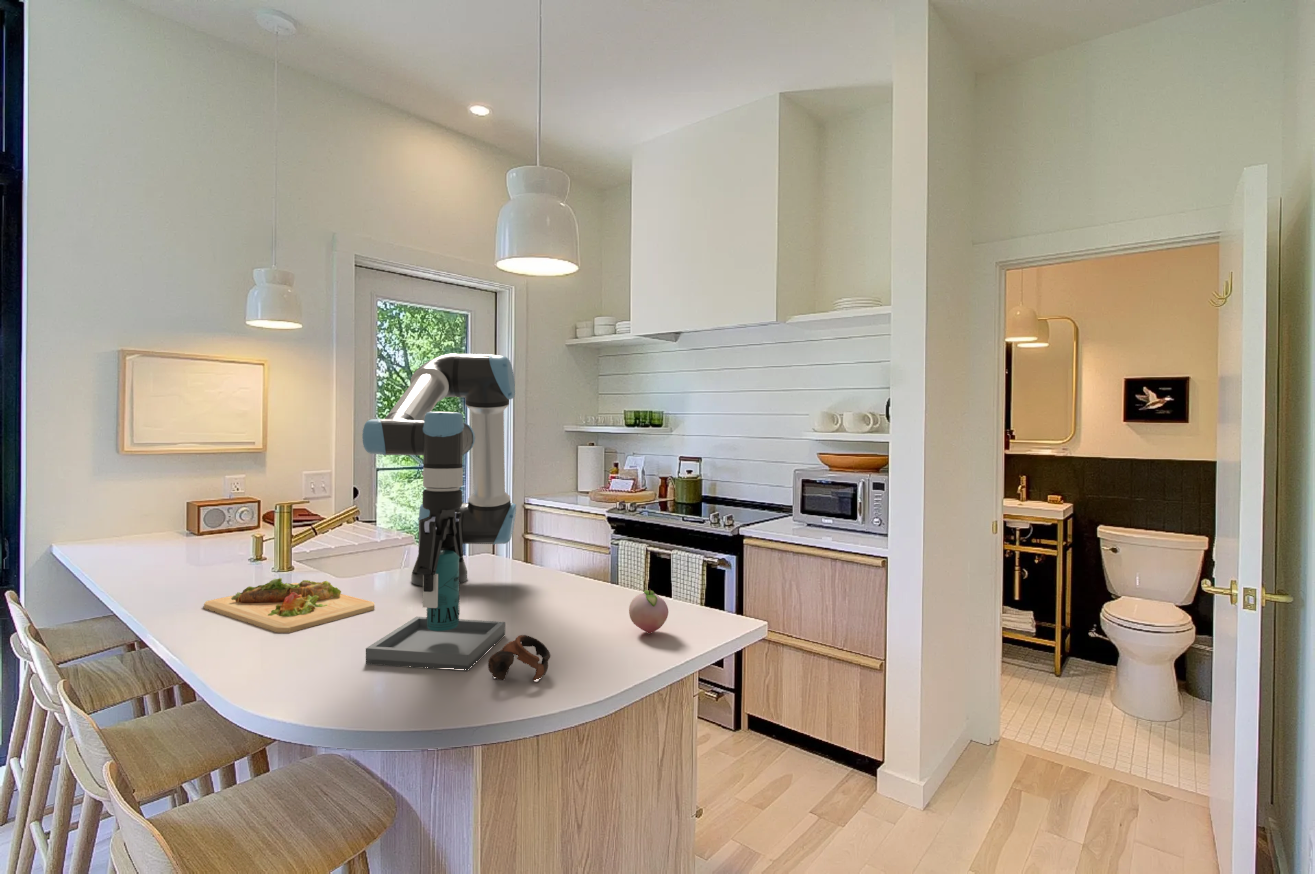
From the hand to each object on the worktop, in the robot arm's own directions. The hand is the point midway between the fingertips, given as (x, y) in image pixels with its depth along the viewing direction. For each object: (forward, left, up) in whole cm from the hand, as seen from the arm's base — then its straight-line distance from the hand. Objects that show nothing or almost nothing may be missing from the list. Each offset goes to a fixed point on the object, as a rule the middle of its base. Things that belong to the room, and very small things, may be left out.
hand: (440, 600), depth 131 cm
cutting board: (-20, -47, -11) cm, 52 cm away
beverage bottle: (-1, 0, -7) cm, 7 cm away
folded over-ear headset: (+12, +20, -10) cm, 25 cm away
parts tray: (0, 0, -10) cm, 10 cm away
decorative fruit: (-17, +40, -10) cm, 45 cm away
